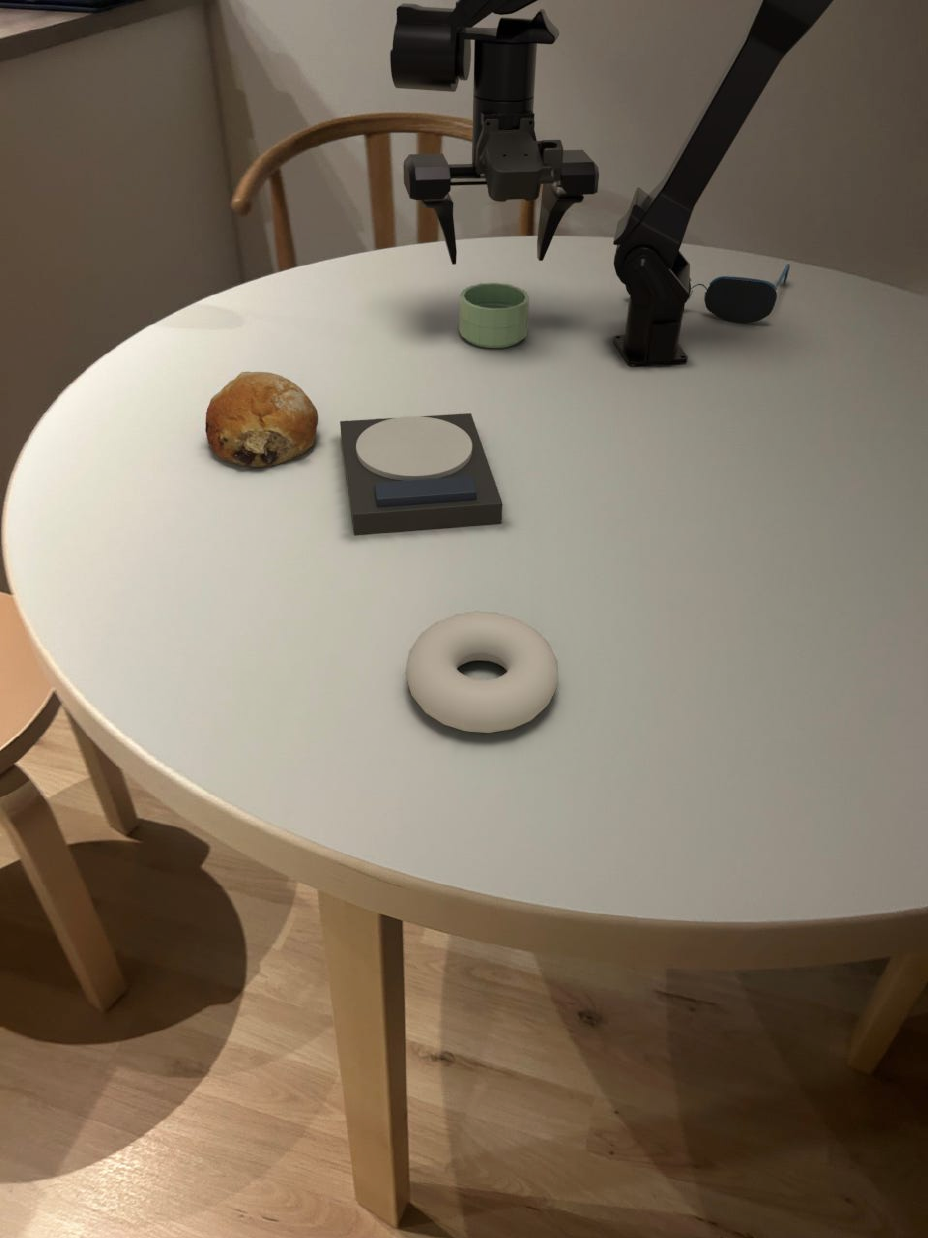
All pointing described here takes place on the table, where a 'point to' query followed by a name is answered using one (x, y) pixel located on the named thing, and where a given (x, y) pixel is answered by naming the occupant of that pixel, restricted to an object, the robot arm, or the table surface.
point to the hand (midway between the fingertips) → (497, 261)
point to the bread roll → (260, 420)
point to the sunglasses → (740, 297)
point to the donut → (479, 699)
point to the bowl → (493, 315)
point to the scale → (417, 474)
